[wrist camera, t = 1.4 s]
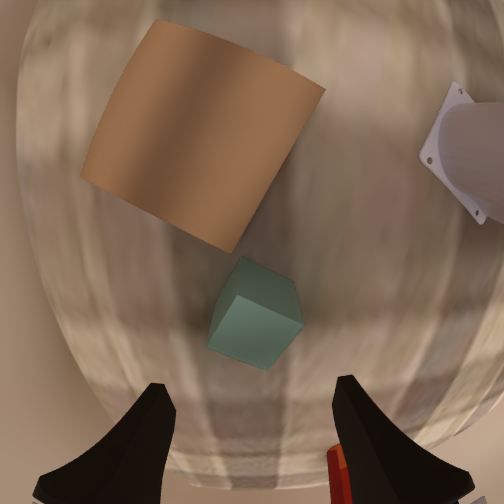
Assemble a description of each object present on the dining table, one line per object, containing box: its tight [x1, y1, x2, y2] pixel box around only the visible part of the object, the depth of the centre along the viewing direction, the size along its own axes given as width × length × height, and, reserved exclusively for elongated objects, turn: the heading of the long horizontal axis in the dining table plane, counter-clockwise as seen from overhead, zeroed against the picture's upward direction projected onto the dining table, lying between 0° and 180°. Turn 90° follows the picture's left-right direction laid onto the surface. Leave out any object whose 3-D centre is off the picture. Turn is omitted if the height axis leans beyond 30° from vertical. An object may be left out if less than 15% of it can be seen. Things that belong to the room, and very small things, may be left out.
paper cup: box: [327, 444, 352, 504], centre depth 22 cm, size 8×8×14 cm
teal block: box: [206, 256, 305, 371], centre depth 17 cm, size 4×4×5 cm
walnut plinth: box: [80, 19, 326, 254], centre depth 14 cm, size 10×10×3 cm
